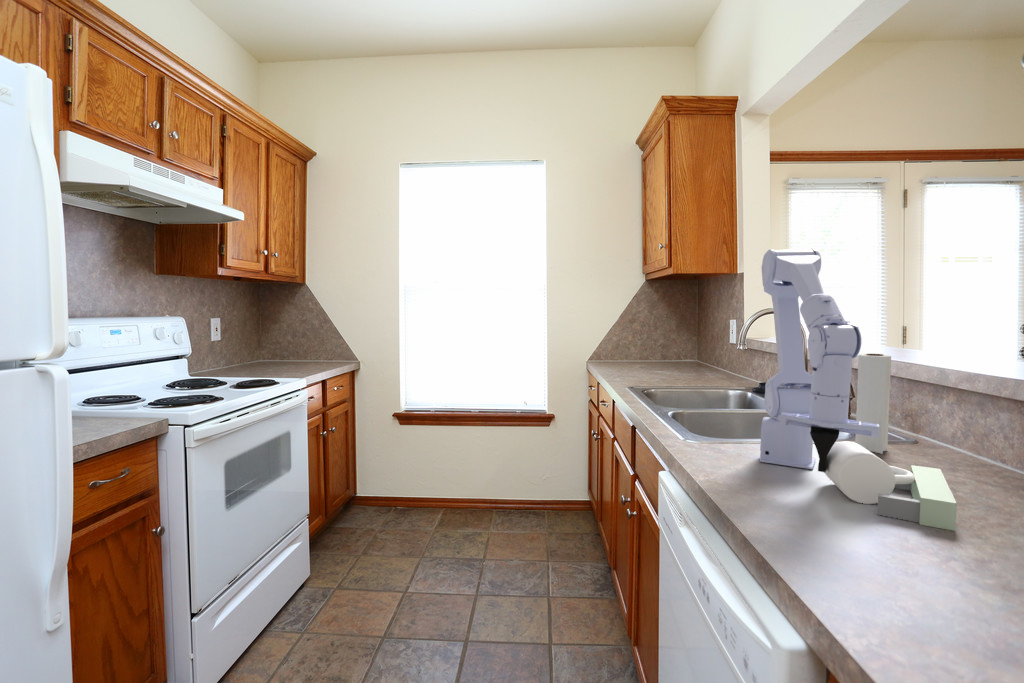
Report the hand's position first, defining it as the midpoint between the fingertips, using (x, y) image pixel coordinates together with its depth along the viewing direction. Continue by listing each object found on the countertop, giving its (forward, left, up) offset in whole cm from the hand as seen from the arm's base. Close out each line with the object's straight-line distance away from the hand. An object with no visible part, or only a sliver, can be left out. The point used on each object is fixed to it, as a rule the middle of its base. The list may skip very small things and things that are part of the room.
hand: (824, 470), depth 90 cm
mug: (+6, +1, -4) cm, 7 cm away
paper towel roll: (+7, +36, -3) cm, 37 cm away
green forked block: (+13, 0, -3) cm, 13 cm away
